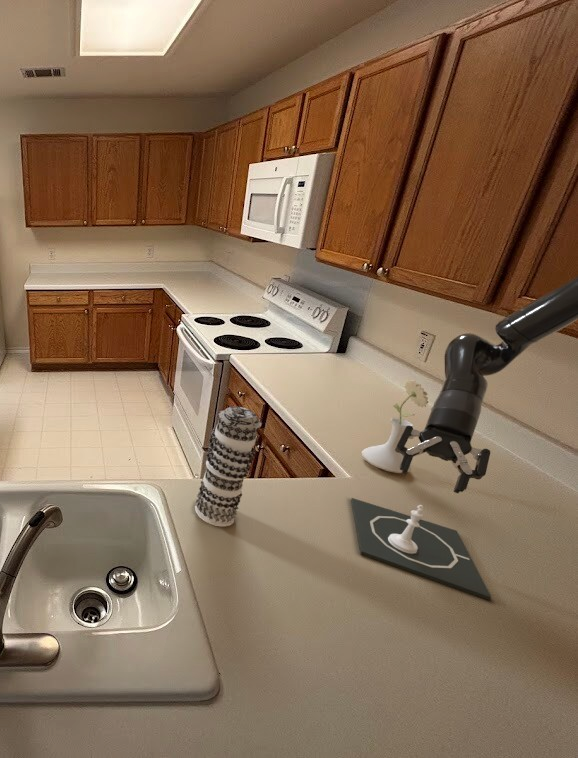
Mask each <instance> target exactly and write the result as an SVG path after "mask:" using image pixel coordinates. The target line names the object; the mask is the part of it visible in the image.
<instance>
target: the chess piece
mask: <svg viewBox="0 0 578 758" xmlns="http://www.w3.org/2000/svg"><path fill="white" fill-rule="evenodd" d="M423 507H424V505H422V504H419V505H417V506H416V508H417V509H412V510H411V511H410V516H411V519H407V520H406V522H407V523H408V524H409V525H408V526H407V527H406V529H405V530H404V532H403V533H402V534H391V535H390V536H389V537H388V541H389V542H390V543H391V544H392V545H393V546H394V547H395V548H397V549H399V550H401V551H403V552H406V553H411V554H414V553H416V552H417V549H418V547H417V545H416V544H415V543H414V542H413V541H412V540H411V537H412V533H413V530H414V527H419V523H418V521H419V520H420V519H421V520H423V518H424V517H425V516H424V514H423Z"/></svg>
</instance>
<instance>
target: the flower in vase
mask: <svg viewBox="0 0 578 758" xmlns="http://www.w3.org/2000/svg"><path fill="white" fill-rule="evenodd" d="M404 389H405V393H406V394H407V396H408V397H407V398H405V399H404V401H402V403H401V405H399V404H398V403H395V404H393V406H392V407H393V408H394V409H396V411H397V412H398V413H399V417H391V418H390V421H391V432H390V436H389V438H388V440H387V441H386V442H385V443H383V444H378V445H372V446H369V447H365V448H364V449H363V450H362V451H361V455H362V458H363V459H364V460H365V461H366V462H368V464H370V465H372V466H373V467H376V468H378V469H379V470H383V471H385V472H388V473H389V472H390V473H394V474H403V473H402V470H400V465H401V462H402V459H403V455H402V454H401V453H398V452H396V451H395V448H396V446H397V444H398V442H399V440H400V438H401V436H402V434H403V432H404V430H405V428H406V426H412V427H413V428H414V424H413V423H412V422H410V421H408V420H405V419H403V418H408V417H412V416H415V414H402V407H403V406H404V404H406V402H407V401H408V400H409V399H410V400H411V402H413V403H414V404H415V405H417V406H418V407H421V408H426V407H427V405H428V404H429V400H428V399H429V398H428V392H427V391H425V389H424V387H422V384H421V383H420V382H418V383H417V382H416V380H414V379H411V380H410V379H407V380H405V383H404ZM410 471H411V465H410V466H409V469H408V472H410Z"/></svg>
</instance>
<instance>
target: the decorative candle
mask: <svg viewBox="0 0 578 758" xmlns="http://www.w3.org/2000/svg"><path fill="white" fill-rule="evenodd" d="M262 424H263V423H262V421H261V420H260V419H259V418H258V416H257V414H256V413H255V412H254V411H252V410H251V409H249V408H246V407H242V406H229V407H227V408H226V409H224V410H220V411H219V412H218V420H217V424H216V427H215V428H212V430H211V432H210V437H209V440H208V441H209V447H207V451H208V452H207V453H206V461H205V466H206V470H205V473H204V474H203V478H202V480H201V481H200V486H199V488H198V489H199V492H198V493H197V495H196V497H197V498H196V499H195V500H196V501H195V503H196V504H195V506H194V510H195V514H196V515H197V516H198V517H199V518H200V519H201V520H203V521H204V522H205V523H207V524H210V525H211V526H216V527H220V528H224V527H229V526H231V525H233V524H234V522H235V519H236V516H237V514H238V513H237V510H238V509H239V504H240V502H241V498H242V496H243V493H242V490H243V486H244V485H243V483H244V479H246V478H247V477H248V474H249V471H251V467H252V466H251V465H250V464H252V463H253V462H254V457H255V456H256V453H257V450H255V447H259V445H260V443H259V442H258V440H257V438H258V436H257V435H258V430H259V428H261V427H262Z"/></svg>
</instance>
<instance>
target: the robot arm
mask: <svg viewBox="0 0 578 758" xmlns="http://www.w3.org/2000/svg"><path fill="white" fill-rule="evenodd" d="M576 321H578V276H576V277H574V278H572V279H571V280H569V281H567V282H566V283H564V284H562V285H559V287H556V288H555V289H553V290H551V291H549V292H547V293H545V294H543V295H542V296H539V297H538V298H535V299H534V300H532V301H530V302H529V303H527V304H525V305H524V306H523V307H521V308H518V309H517V310H515V311H514V312H512V313H510V314H509V315H507V316H506V317H504V318H502V319H500V320H499V321H498V322H497V323H496V324H495V325H494V332H495V333H496V335H497V336H498V338H499V339H500V340H502V341H501V342H500V343H498V344H494V343H493V342H490V341H489V340H488V339H485V338H483V337H482V336H480V335H478V334H474V333H469V332H468V333H462V334H459V335H457V336H456V337H454V338H453V339H452V340H450V341H449V343H448V344H447V346H446V348H445V351H444V354H443V374H444V381H443V384H442V385H441V389H440V392H439V394H438V396H437V398H436V399H435V401H434V403H433V405H432V407H431V409H430V413H429V415H428V416H429V417H428V419H427V422H426V424H425V427H424V429H422V431H420V430H417V429H414V426H413V427H412V426H406V428H405V430H404V432H403V434H402V436H401V438H400V440H399V442H398V444H397V446H396V448H395V451H396V452H398V453H401V454H402V455H403V459H402V462H401V465H400V470H402V473H401V474H403V475H407V474H408V472H409V471H408V469H409V466H410V467H411V463H412V461H413V459H414V457H416V456H420V455H422V454H424V453H427V454H428V456H430V457H433V458H439V459H440V460H443V461H446V462H448V461H451V464H452V465H453V467H454V468H455V469H456V470H457V471H458V473H459V475H458V476H457V478H456V479H457V480H456V483H455V485H454V489H453V491H452V492H453V493H455V494H459V493H463V492H464V491H465V490H466V489H468V485H469V482H470V480H471V479H475V480H479V481H480V480H481V479H482V478H483V477H485V476H486V474H487V470H488V465H489V461H490V456H491V450H490V449H488V448H483V449H480V448H476V447H473V446H472V444H471V443H472V439H473V436H474V433H475V430H476V428H477V425H478V421H479V419H480V415H481V412H482V406H483V402H484V399H485V396H486V393H487V390H488V386H489V383H488V380H487V379H486V377H487V376H493V375H496V374H497V373H500V372H502V371H503V370H505V369H506V368H507V367H508V366H509V365H510V364H511V363H512V362H513V361H514V360H515V359H516V358H517V357H519V356H520V355H521V354H523V353H524V352H525V351H526V350H527V349H528V348H530V347H531V346H532V345H534V344H536V343H538V342H540V341H542V340H544V339H545V338H547V337H549V336H551V335H553V334H554V333H556V332H559V331H561V330H563V329H564V328H566V327H567V326H569V325H571V324H573V323H574V322H576ZM415 437H418V440H419V442H420V443H418V444H416V445H415V446H413V447H411V448H407V447H406V444H407V442H408V440H413V439H414V438H415ZM468 454H472V458H473V459H474V460H475V461H476V462H475V466H474V469H472V468H471V466H470V464H469V461H468V458H467V457H466V455H468Z"/></svg>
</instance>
